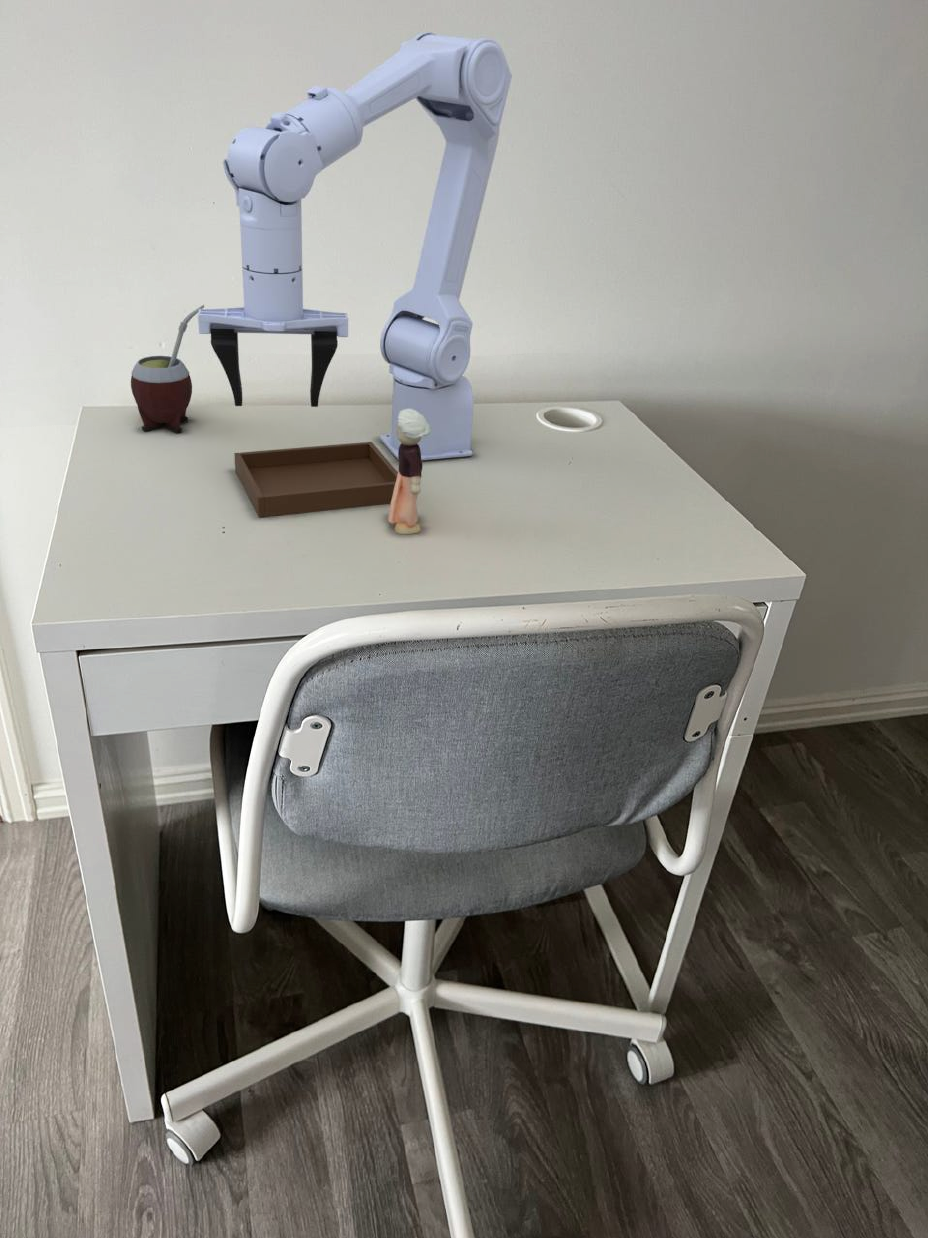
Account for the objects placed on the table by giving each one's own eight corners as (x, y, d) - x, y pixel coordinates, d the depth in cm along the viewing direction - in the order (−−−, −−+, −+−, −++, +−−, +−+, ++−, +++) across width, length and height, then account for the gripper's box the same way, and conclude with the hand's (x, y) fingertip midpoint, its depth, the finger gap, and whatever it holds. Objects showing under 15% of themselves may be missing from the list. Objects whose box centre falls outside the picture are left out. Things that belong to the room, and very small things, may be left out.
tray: (371, 459, 116) (371, 441, 115) (405, 501, 107) (406, 482, 106) (235, 471, 110) (234, 452, 109) (258, 517, 101) (258, 497, 100)
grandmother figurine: (377, 513, 104) (381, 398, 97) (411, 509, 105) (417, 396, 98) (399, 545, 98) (404, 425, 91) (435, 541, 99) (443, 423, 92)
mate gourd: (124, 423, 120) (110, 299, 112) (179, 410, 125) (169, 291, 117) (158, 441, 116) (146, 314, 108) (214, 427, 121) (206, 304, 113)
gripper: (192, 274, 89) (202, 416, 96) (350, 279, 92) (349, 417, 99) (196, 257, 95) (206, 392, 102) (345, 262, 98) (344, 394, 105)
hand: (276, 403), depth 101 cm, fingers open, 7 cm apart
